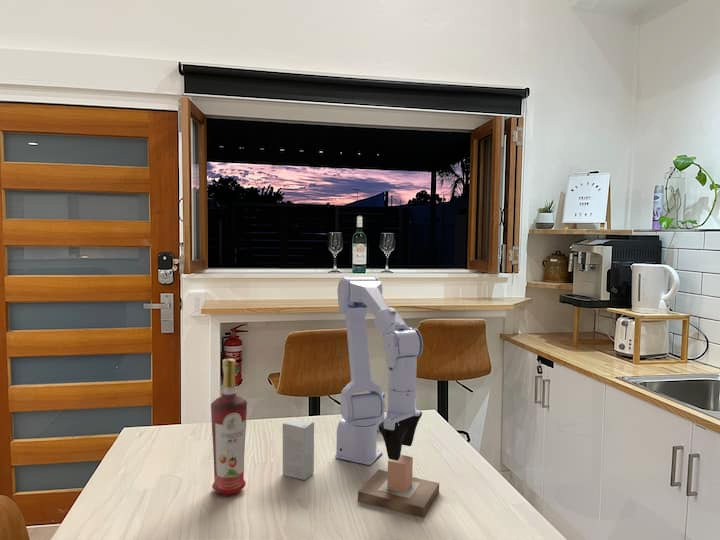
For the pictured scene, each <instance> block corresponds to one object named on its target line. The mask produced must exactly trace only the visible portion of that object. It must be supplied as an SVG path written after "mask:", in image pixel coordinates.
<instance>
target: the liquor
mask: <svg viewBox="0 0 720 540" xmlns="http://www.w3.org/2000/svg"><path fill="white" fill-rule="evenodd" d="M236 368H237V360H236V358H224V359H222V373H223V381H222V388H221V390H222V391H221V396H219V397H217V398H216V399H214V400H212V402H211V403H210V412H211V415H210V416H211V433H212V434H211V436H212V448H213V449H212V450H213V472H214V474H213V475H214V476H213V478H214V481H213V483H212V485H211V487H212V490H213V491H215V492H216V493H217V494H219V495H220V496H223V497H224V496H225V497H230V496H235V495H238V494H239V493H240V492H241V491H242V489H244V488H245V487H246V484H247V482H246V479H244V475H245V473H244V472H245V451H246V450H245V449H246V448H245V445H246V443H245V442H246V433H247V432H246V431H247V415H248V414H247V413H248V411H247V410H248V401H247V400H246V399H244V398H243V397H242V396H239V395H237V387H236Z"/></svg>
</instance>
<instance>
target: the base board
mask: <svg viewBox="0 0 720 540" xmlns="http://www.w3.org/2000/svg"><path fill="white" fill-rule="evenodd" d="M387 480H388V470H383V469H378V470H377V471H376V472H375V473H374V474H373V475H372V476H370V478H369V479H368V480H367V481H366V482H365V483H364V485H362V487H361V488H360V489H359V490H358V491H357V501H358V502H361V503H366V504H369V505H373V506H377V507H381V508H384V507H385V509H388V510H393V511H396V512H400V513H405V514H408V515H411V516H416V517H418V518H419V517H420V518H424V517H425V515H426V514H427V512H428V510H429V509H430V507H431V506H432V504H433V503H434V501H435V500H436V498H437V496H438V495H439V493H440V482H436V481H431V480H427V479H422V478H418V477H413V476H412V485H411V487H410V488H409V489H408V491H407V492H406V493H402V492H398V491H394V490H390V489H387Z"/></svg>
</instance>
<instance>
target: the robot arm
mask: <svg viewBox="0 0 720 540" xmlns="http://www.w3.org/2000/svg"><path fill="white" fill-rule="evenodd" d="M336 289H337V290H336V291H337V302H338V310H339V312H340V313H342V314H344V317H345V326H346V334H347V335H346V336H347V349H348V358H349V359H348V360H349V369H350V371H349V372H350V382H348V383H347V384H346V385H345V386H344V387H343V389H342V390H341V392H340V405H339V406H340V414H341V416H342V418H341V419H340V420H339V421H338V424H337V428H336V449H335V450H336V452H335V453H336V454H335V455H334V457H335V458H336V459H341V460H344V461H348V462H349V461H350V462H354V463H359V464H362V465H365V466H366V465H367V466H370V465H372V464H373V463H375V461H376V460H377V459H378V458H379V457H380V456H381V455H382V454H383V451H382V450H379V449H377V441H378V440H377V437H378V436H377V435H378V432H380V434H381V437H382V438H383V442H384V445H385V450H386V454H387V458H388V460H389V459H392V460H397V461H398V460H399V458H400V455H402V446H406V447H411V446H412V445H413V442H414V439H415V438H414V437H415V433H416V429H417V426H418V424H419V421H420V419H421V418H422V416H423V412H422V410H420V409H417V408H418V399H417V394H416V393H417V371H418V370H417V368H418V367H417V364H418V358H419V357H420V356H421V355H422V354H423V350H424V348H423V347H424V342H423V337H422V335H421V332H420V330H419V329H418V328H412V327H411V326H410V327H409V326H408V325H407V323H406V321H405V320H404V319H403V318H402V316H401V315H400V313H399V312H398V311H397V309H395V308H393V307H389V306H388V304H387V302H386V300H385V298H384V296H383V284H382V281H381V279H380V278H379V277H378V276H372V277H371V276H370V277H369V276H367V277H346V276H342V277H341V278H340V280H339V281H338V285H337V288H336ZM369 312H371V313H372V314H373V316H374V320H373V323H374V326H375V328H376V329H377V331H378V332H379V334H380V335H381V337H382V339H383V340H384V341H383V348H384V352H385V353H384V354H385V358H386V360H385V362H386V366H388V383H387V384H388V386H387V407H386V401H385V402H384V398H383V396H382V393H383V391H382V387H381V386H380V385H379V384H378V383H376V382H374V381H373V380H372V375H371V366H370V364H371V363H370V353H369V344H368V343H369V342H368V333H367V321H366V315H367V314H368V313H369ZM365 392H368V393H365ZM384 412H386V413H385V414H384ZM383 414H384V415H385V417H384V422H382V423H380V424H379V431H377V422H380V418H381V417H382V416H383Z"/></svg>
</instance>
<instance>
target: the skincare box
mask: <svg viewBox="0 0 720 540" xmlns="http://www.w3.org/2000/svg"><path fill="white" fill-rule="evenodd" d="M314 466H315V422H314V421H309V420H305V419H299V418H293V417H292V418H290V419H288V420H287V421H285V422H283V423H282V476H286V477H290V478H294V479H298V480H302V481H306V480H308V478H310V476H312V475H313V474H314V472H315V467H314Z"/></svg>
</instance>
